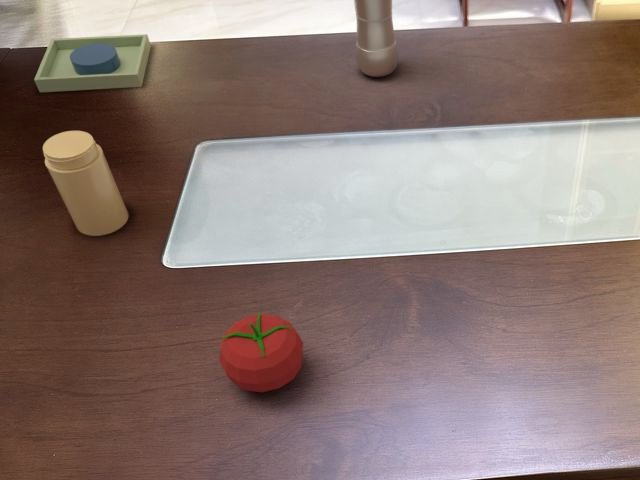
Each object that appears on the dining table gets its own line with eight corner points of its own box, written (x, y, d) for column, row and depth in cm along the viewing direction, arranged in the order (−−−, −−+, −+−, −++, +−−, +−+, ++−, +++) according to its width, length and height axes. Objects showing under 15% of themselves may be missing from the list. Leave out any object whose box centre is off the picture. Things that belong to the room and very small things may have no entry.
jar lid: (130, 60, 110) (126, 48, 109) (101, 81, 106) (96, 68, 105) (94, 51, 112) (90, 39, 110) (64, 71, 108) (59, 59, 106)
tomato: (233, 346, 75) (216, 294, 69) (309, 342, 75) (299, 290, 69) (224, 409, 70) (204, 358, 64) (306, 404, 70) (294, 354, 64)
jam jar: (72, 238, 85) (34, 162, 77) (79, 206, 88) (43, 131, 80) (126, 232, 86) (93, 156, 77) (130, 201, 89) (99, 125, 81)
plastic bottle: (405, 64, 113) (399, -76, 98) (390, 85, 109) (382, -57, 93) (366, 57, 114) (355, -82, 99) (350, 78, 110) (336, -64, 94)
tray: (39, 92, 105) (33, 79, 103) (56, 51, 112) (50, 38, 111) (141, 86, 106) (137, 74, 105) (151, 46, 114) (147, 34, 113)
